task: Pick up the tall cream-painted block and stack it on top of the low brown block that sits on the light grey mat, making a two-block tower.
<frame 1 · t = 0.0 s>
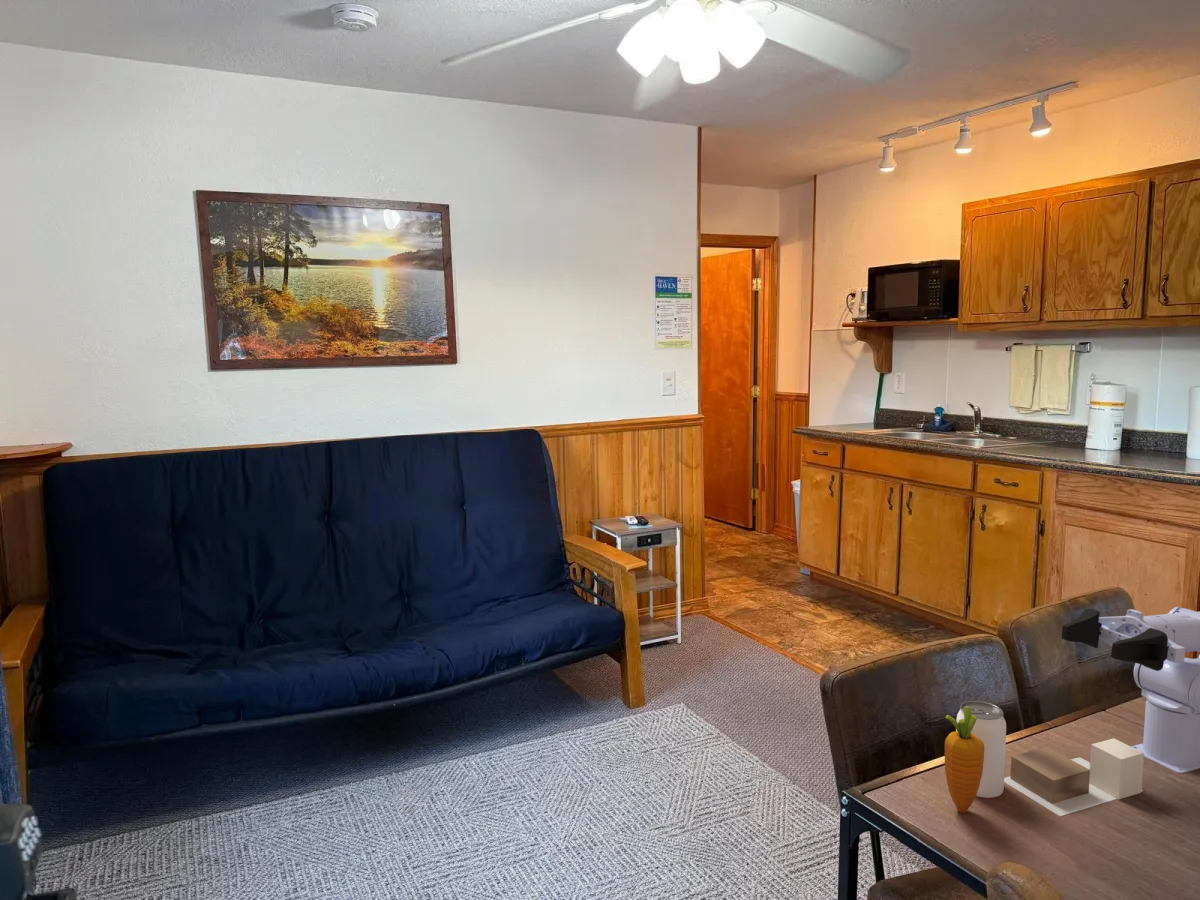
hand: (1088, 641, 113), 22 cm above the table, tool horizontal, fingers open, 7 cm apart
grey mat: (1070, 787, 115), on the table
carrot: (961, 814, 109), on the table
can: (978, 788, 115), on the table
brown block: (1048, 785, 115), resting on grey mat
cream block: (1114, 787, 114), resting on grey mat
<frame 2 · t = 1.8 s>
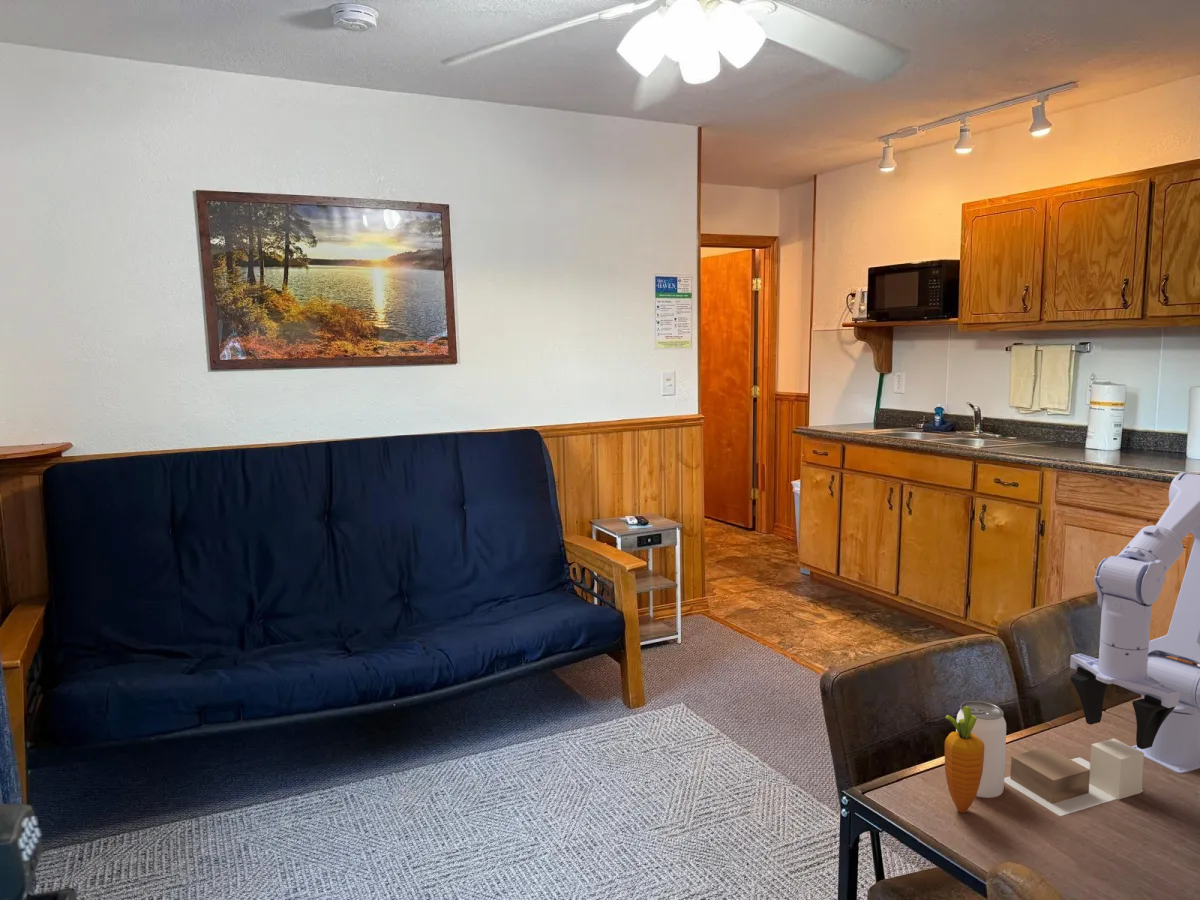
hand: (1118, 734, 113), 9 cm above the table, tool pointing down, fingers open, 7 cm apart
nothing on the table moved.
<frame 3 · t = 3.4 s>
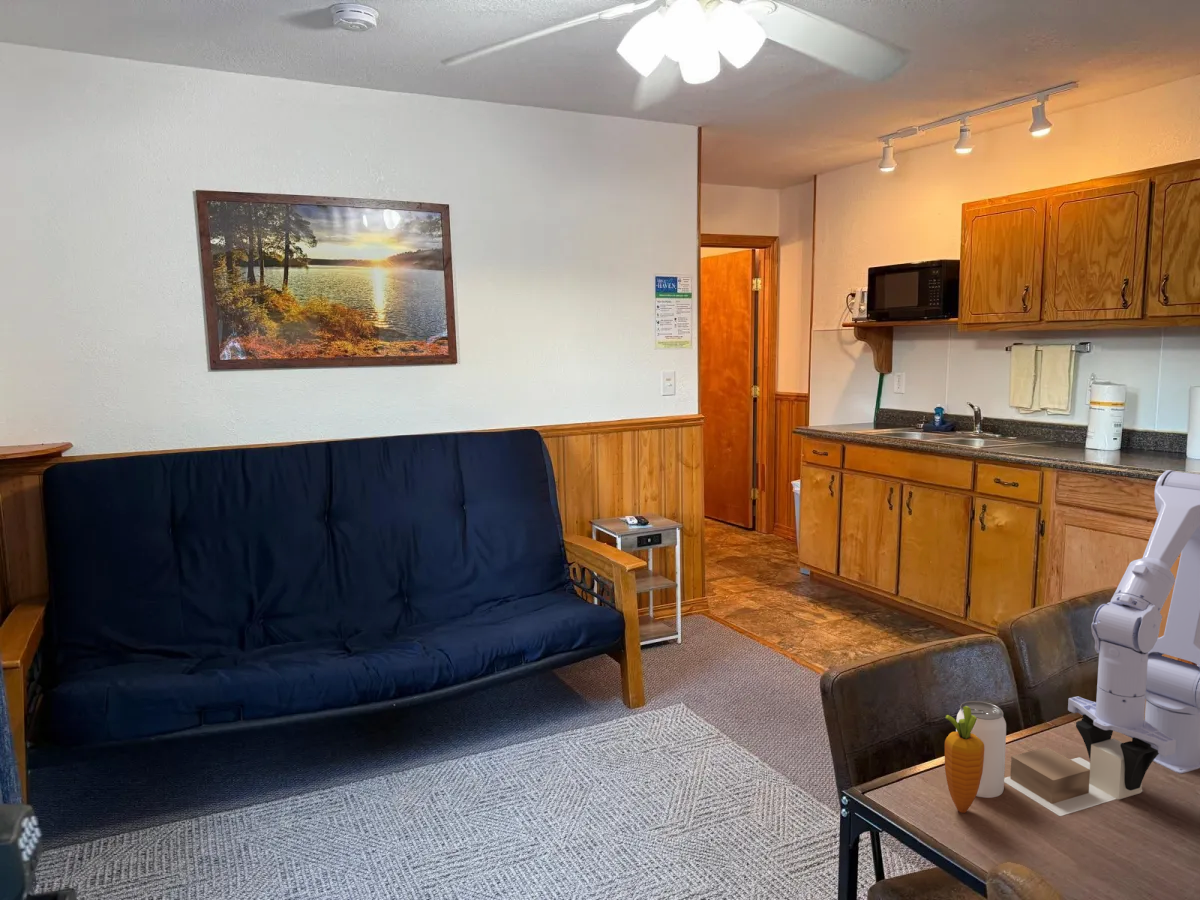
hand: (1115, 778, 114), 2 cm above the table, tool pointing down, fingers closed on cream block, 4 cm apart
cream block: (1114, 787, 114), resting on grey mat, touching gripper
everything else where it was.
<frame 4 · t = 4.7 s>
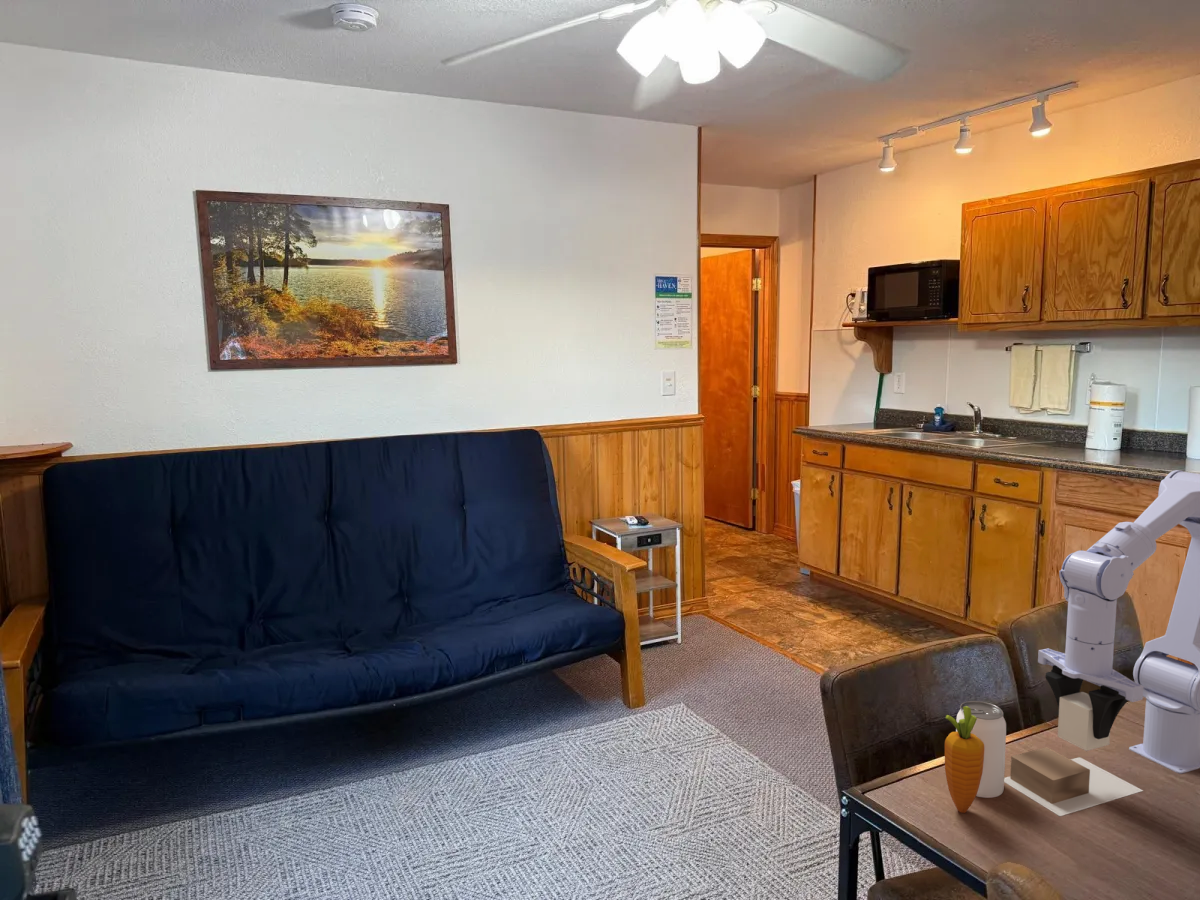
hand: (1084, 728, 113), 9 cm above the table, tool pointing down, fingers closed on cream block, 4 cm apart
cream block: (1083, 740, 113), point 8 cm above the table, touching gripper
everything else where it was.
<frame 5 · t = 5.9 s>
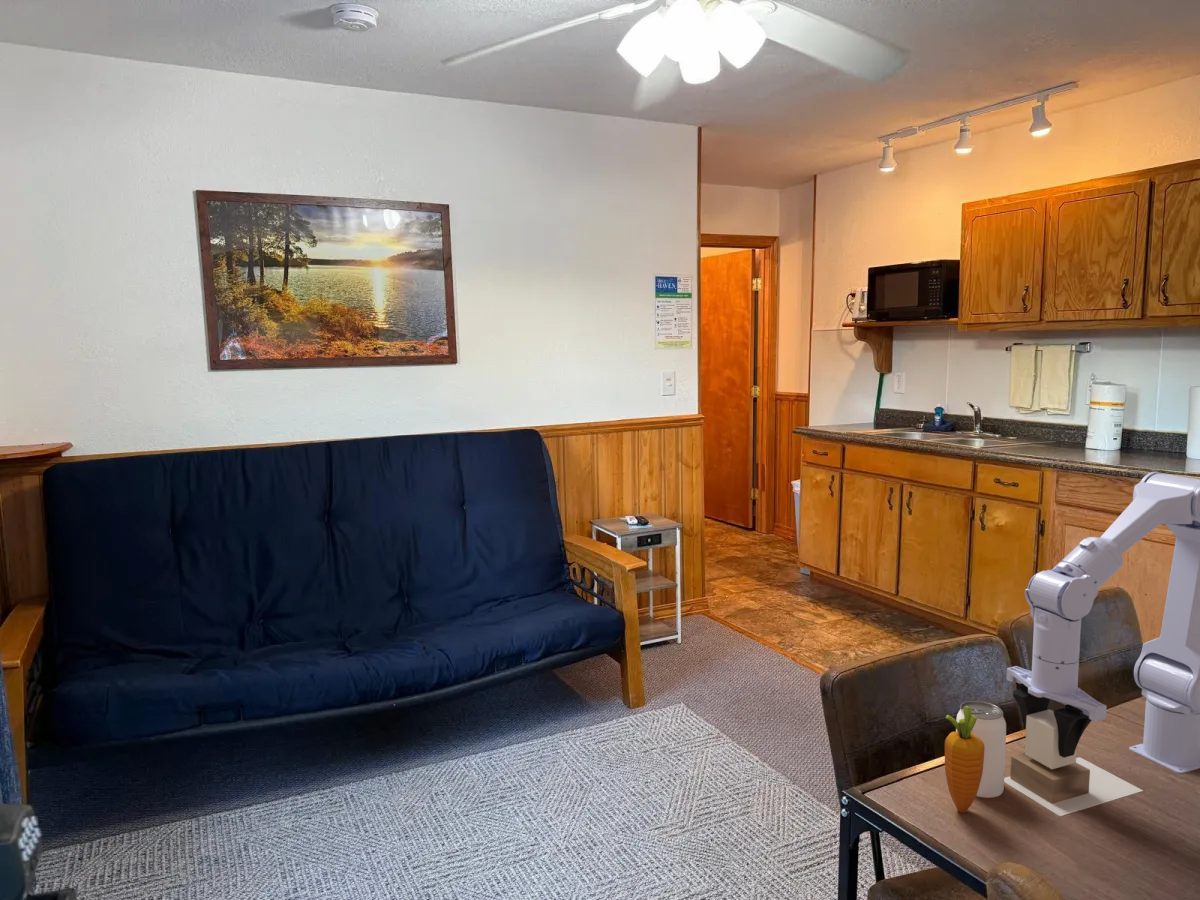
hand: (1050, 746, 114), 6 cm above the table, tool pointing down, fingers closed on cream block, 4 cm apart
cream block: (1050, 758, 114), point 5 cm above the table, touching gripper
everything else where it was.
when the fingers open (6 cm above the table, at t = 6.4 s): cream block stays where it is, resting on brown block.
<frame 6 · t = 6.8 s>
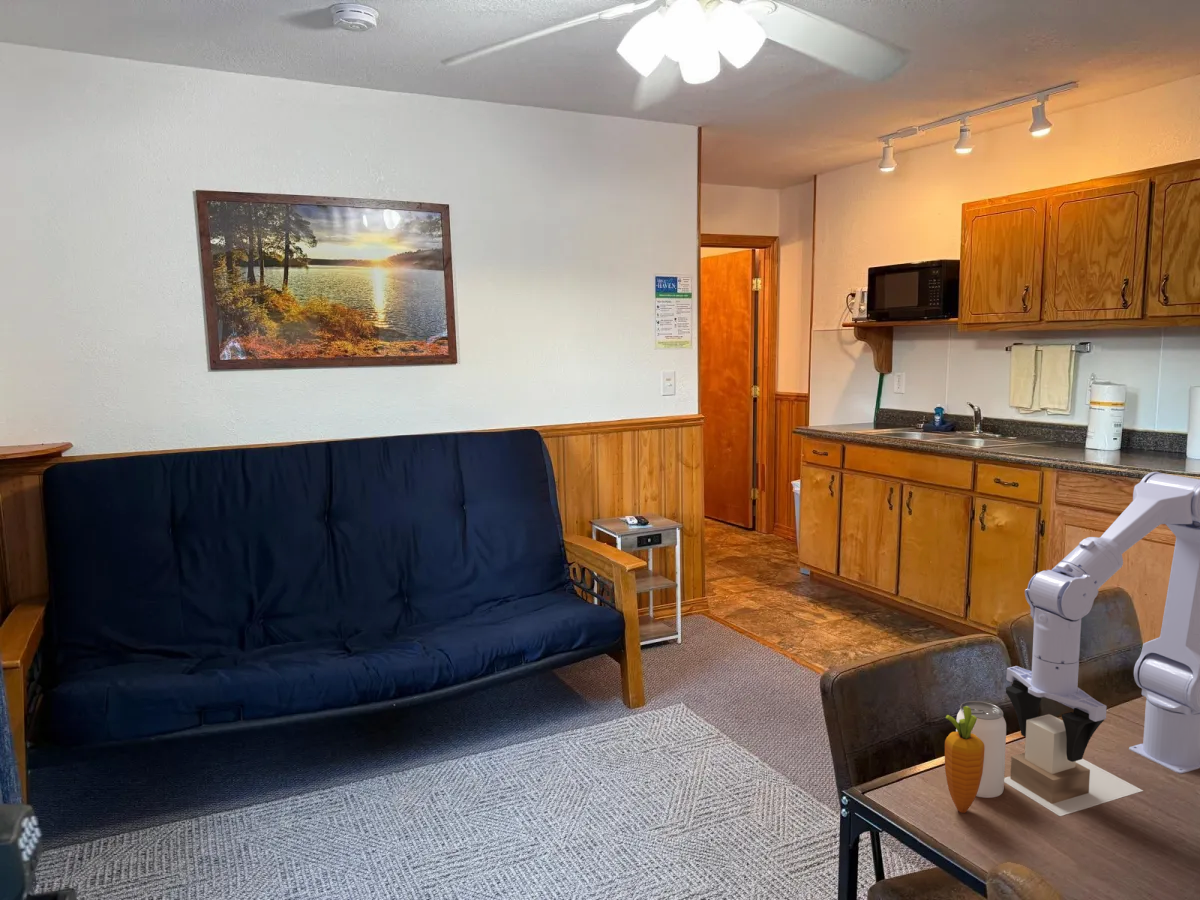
hand: (1050, 746, 114), 6 cm above the table, tool pointing down, fingers open, 7 cm apart
brown block: (1048, 785, 115), resting on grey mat, touching cream block
cream block: (1049, 763, 114), point 4 cm above the table, touching brown block
everything else where it was.
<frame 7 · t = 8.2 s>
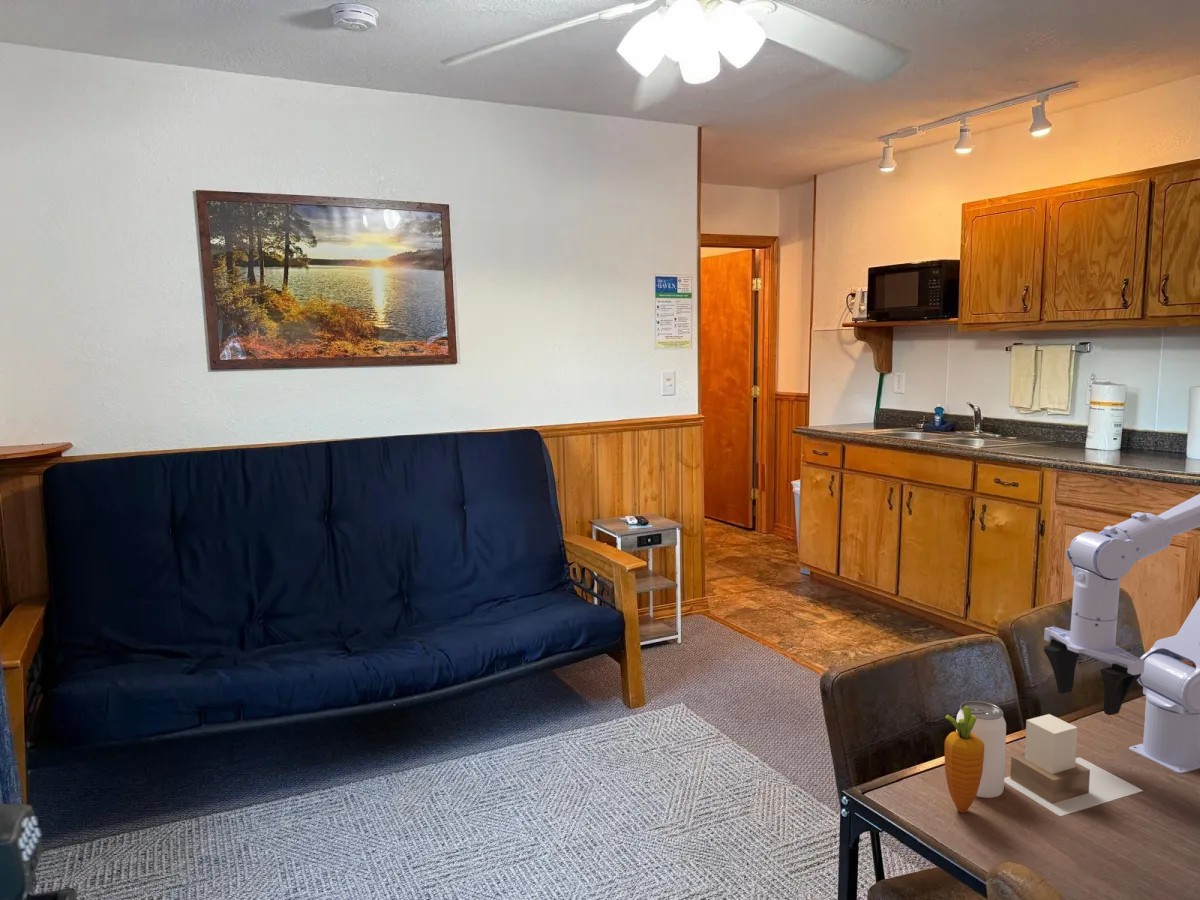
hand: (1087, 702, 119), 10 cm above the table, tool pointing down, fingers open, 7 cm apart
nothing on the table moved.
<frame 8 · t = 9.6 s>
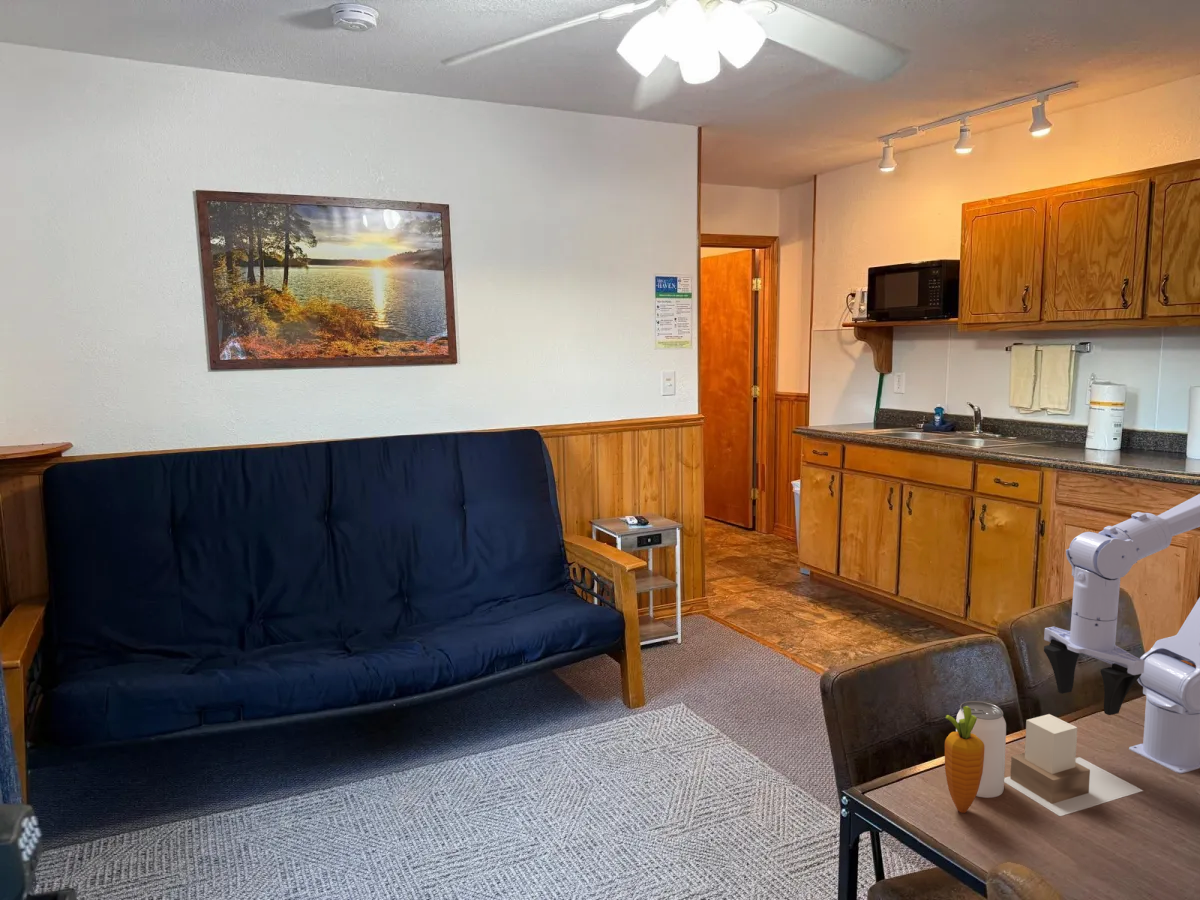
hand: (1087, 702, 119), 10 cm above the table, tool pointing down, fingers open, 7 cm apart
nothing on the table moved.
at the end: cream block 0.0 cm off-centre on the brown block, point 3.5 cm above the brown block's base; cream block tilted 0°; the gripper is holding nothing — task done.
